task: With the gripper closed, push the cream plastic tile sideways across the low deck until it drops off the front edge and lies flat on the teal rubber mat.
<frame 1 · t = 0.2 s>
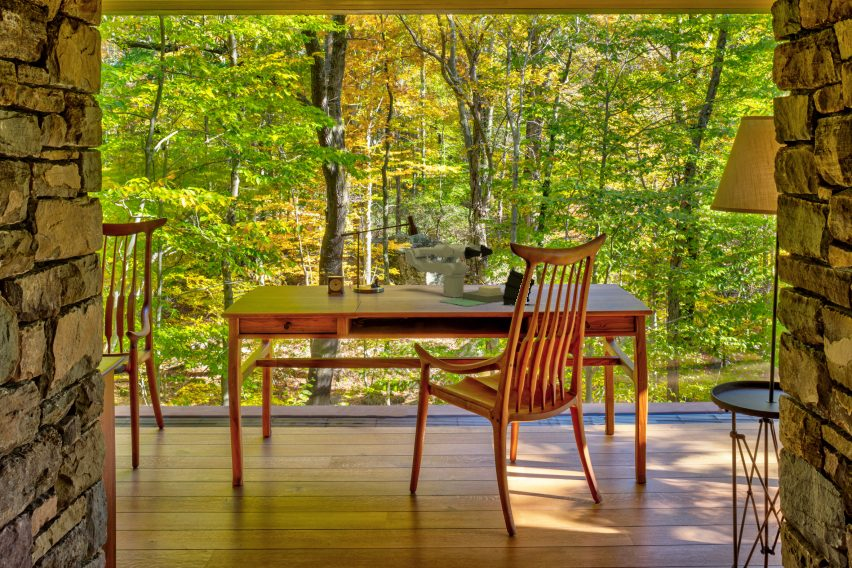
hand: (486, 252, 346), 21 cm above the table, tool horizontal, fingers open, 7 cm apart
mat: (462, 302, 344), on the table
tile: (489, 289, 353), point 4 cm above the table, touching deck
deck: (486, 299, 353), on the table
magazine: (518, 305, 339), on the table
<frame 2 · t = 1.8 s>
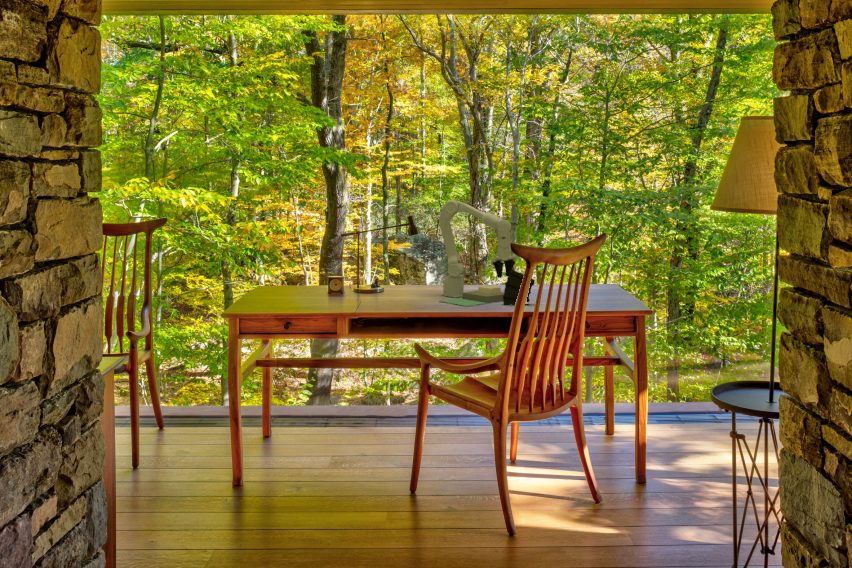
hand: (503, 276, 358), 9 cm above the table, tool pointing down, fingers open, 5 cm apart
nothing on the table moved.
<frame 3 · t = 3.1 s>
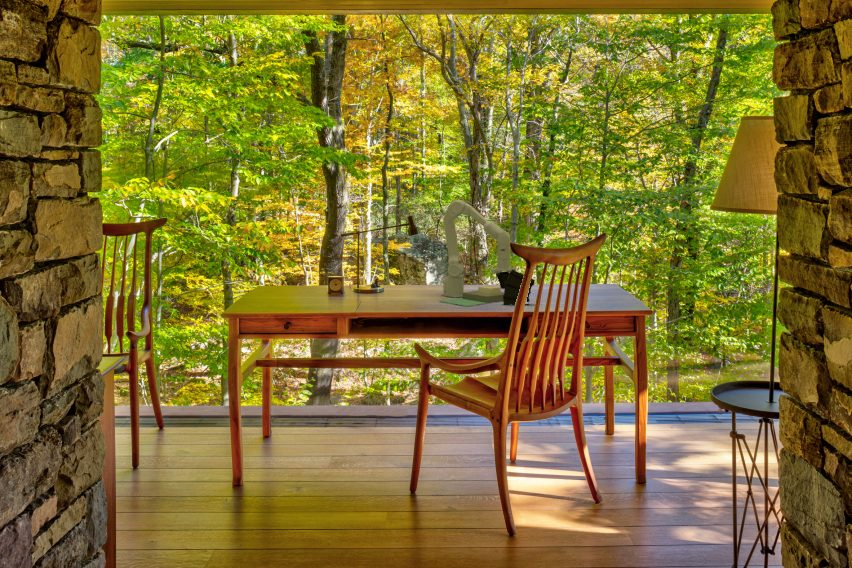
hand: (503, 288, 359), 4 cm above the table, tool pointing down, fingers closed
nothing on the table moved.
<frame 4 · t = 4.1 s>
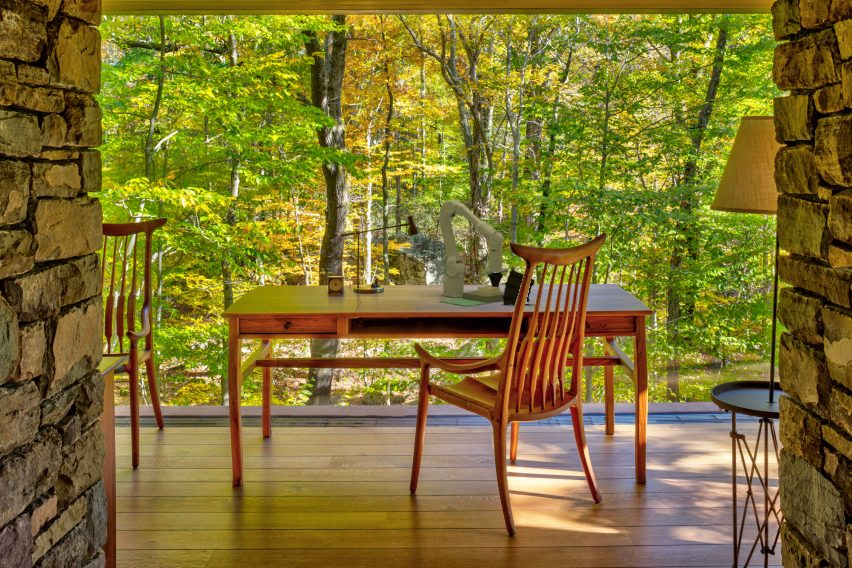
hand: (495, 289, 356), 4 cm above the table, tool pointing down, fingers closed
tile: (488, 289, 353), point 4 cm above the table, touching gripper
everything else where it was.
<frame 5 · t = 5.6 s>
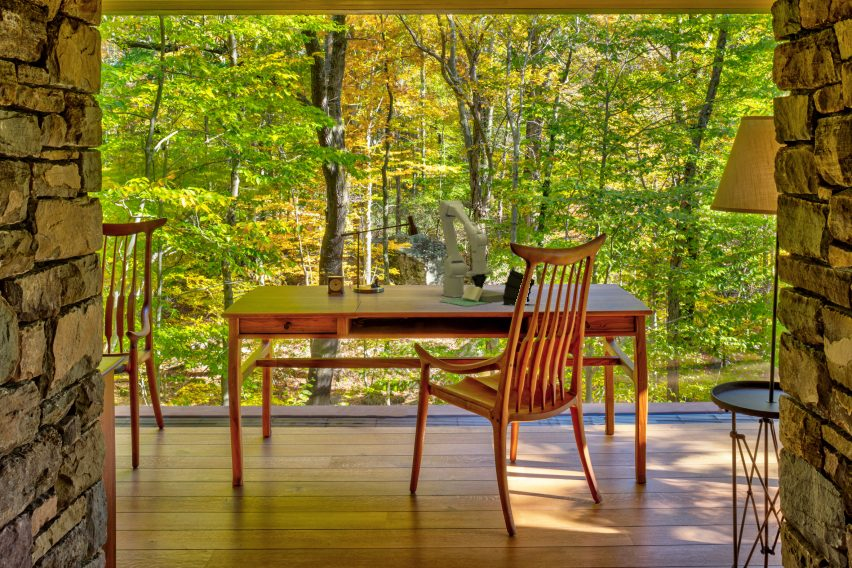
hand: (479, 291, 349), 4 cm above the table, tool pointing down, fingers closed
tile: (472, 293, 346), point 4 cm above the table, tilted 58°, touching mat
everything else where it was.
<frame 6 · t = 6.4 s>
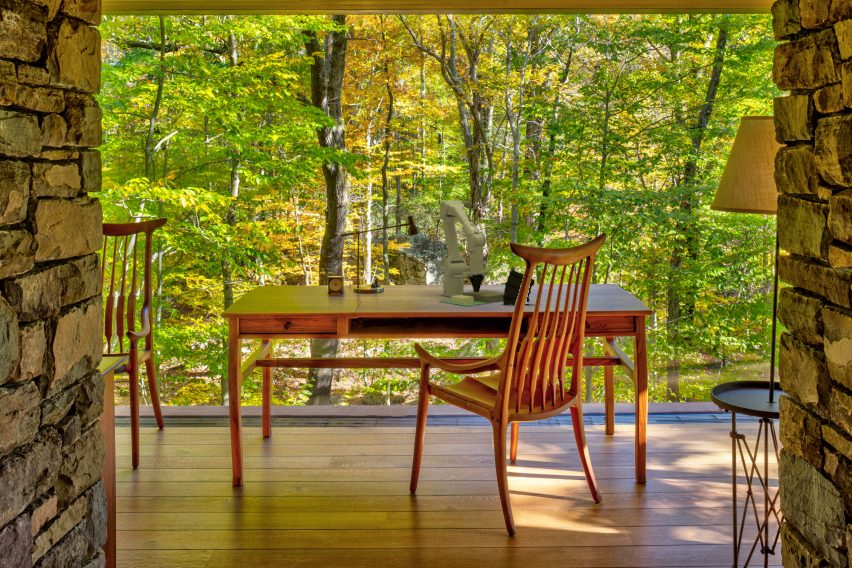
hand: (476, 292, 348), 4 cm above the table, tool pointing down, fingers closed
tile: (462, 299, 343), point 2 cm above the table, tilted 180°, touching mat
everything else where it was.
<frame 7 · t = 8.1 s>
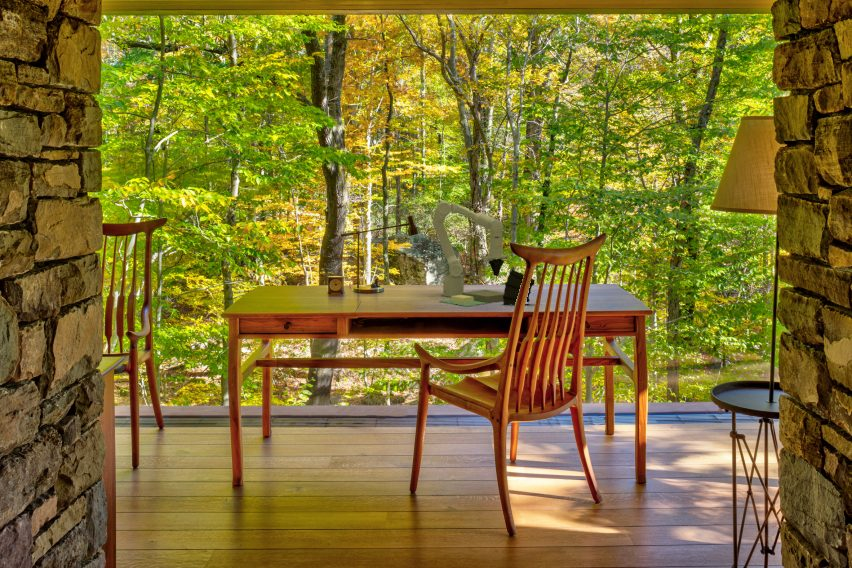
hand: (496, 275, 362), 9 cm above the table, tool pointing down, fingers closed
nothing on the table moved.
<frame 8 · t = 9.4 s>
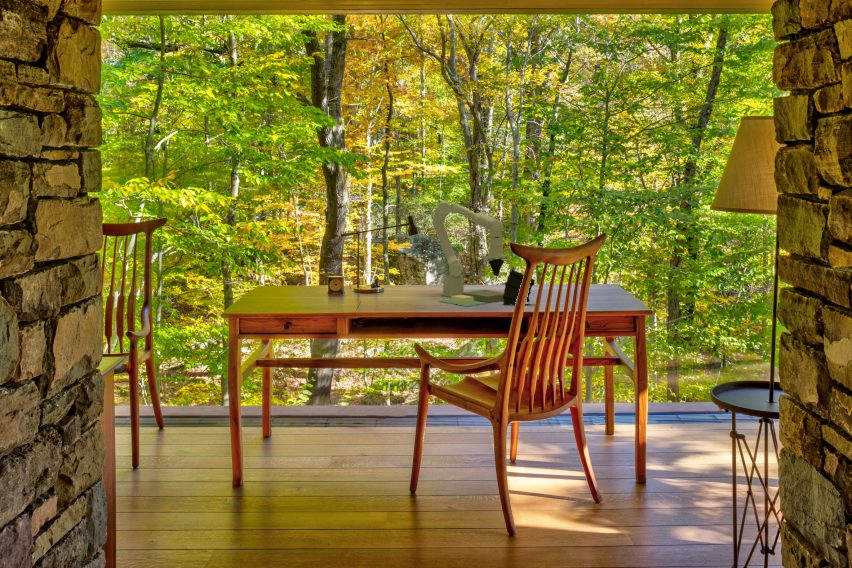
hand: (496, 275, 362), 9 cm above the table, tool pointing down, fingers closed
nothing on the table moved.
at the end: tile inside the target area (0.8 cm from its centre), point 1.6 cm above the table; tile touching mat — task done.
